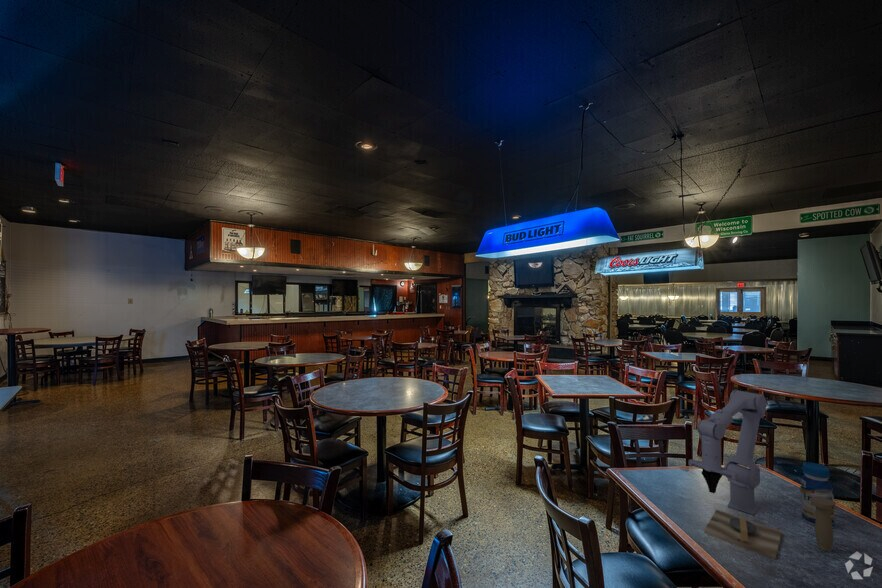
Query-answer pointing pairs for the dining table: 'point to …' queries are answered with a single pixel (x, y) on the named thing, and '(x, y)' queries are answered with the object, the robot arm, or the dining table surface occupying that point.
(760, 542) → the post board
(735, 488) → the robot arm
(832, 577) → the dining table surface
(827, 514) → the handle
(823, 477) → the beverage bottle
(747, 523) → the lever with round base
